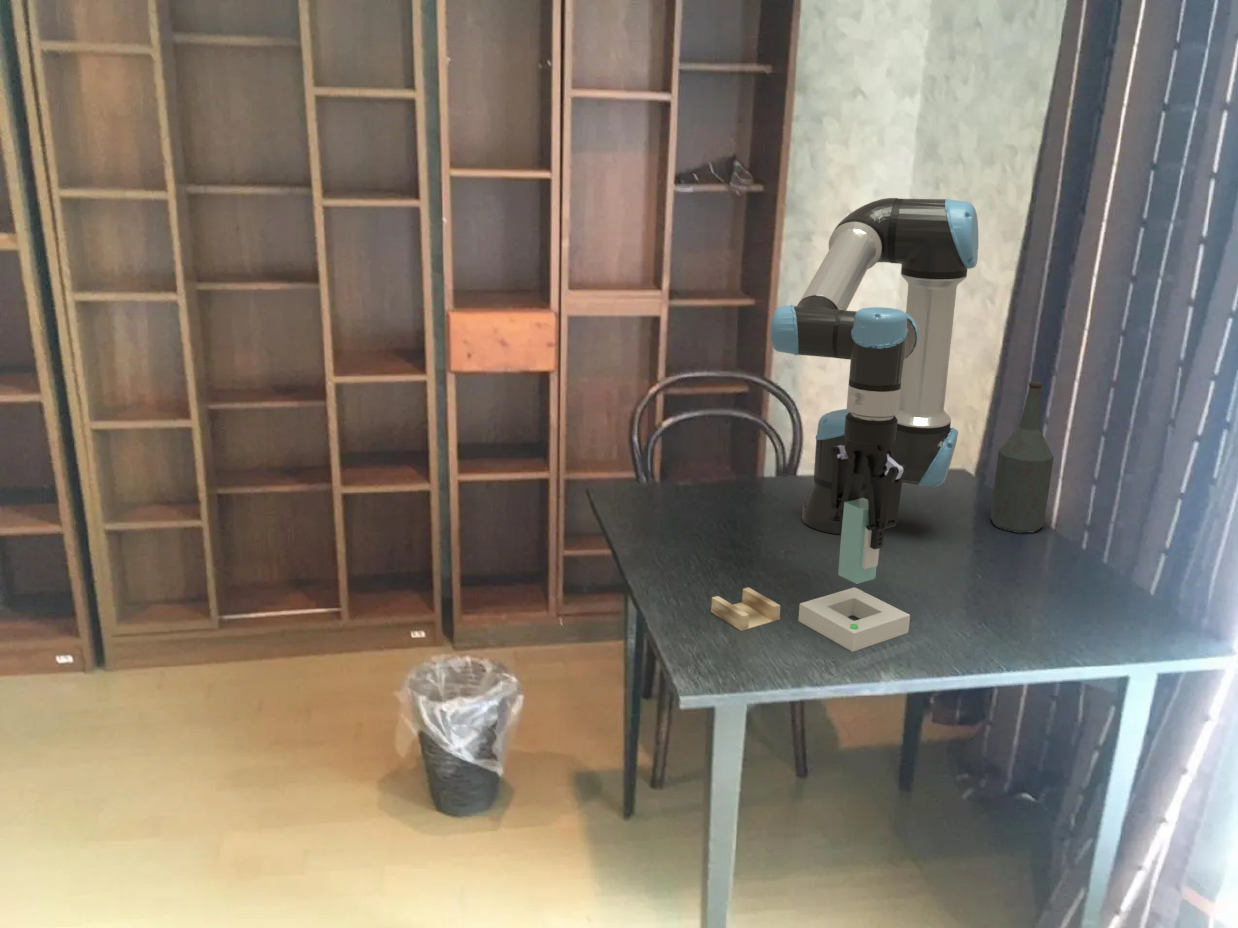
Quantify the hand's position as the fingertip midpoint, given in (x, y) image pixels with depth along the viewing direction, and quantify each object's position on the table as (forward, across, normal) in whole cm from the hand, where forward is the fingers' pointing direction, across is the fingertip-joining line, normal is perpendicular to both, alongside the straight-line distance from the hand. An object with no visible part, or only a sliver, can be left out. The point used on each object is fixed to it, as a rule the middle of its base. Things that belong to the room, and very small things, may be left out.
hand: (858, 560), depth 158 cm
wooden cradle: (+13, -12, -12) cm, 21 cm away
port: (+13, 0, 0) cm, 13 cm away
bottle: (+12, -18, +64) cm, 68 cm away
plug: (+3, 0, 0) cm, 3 cm away
